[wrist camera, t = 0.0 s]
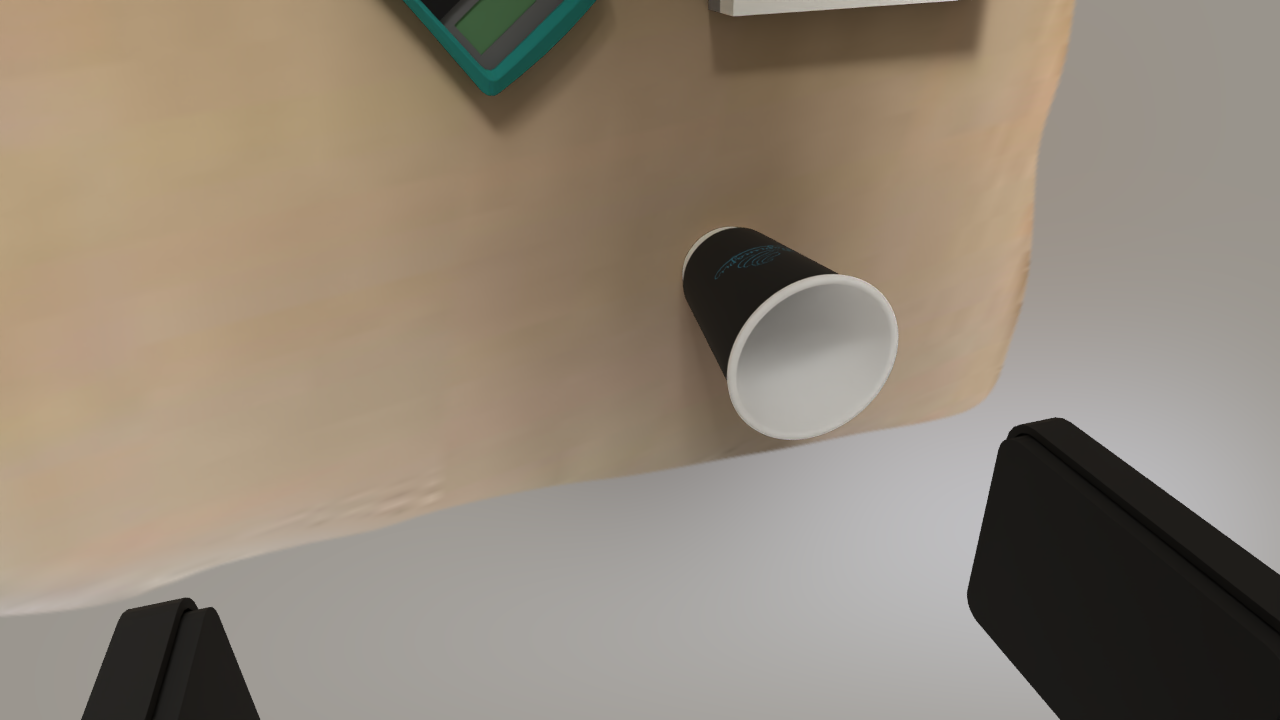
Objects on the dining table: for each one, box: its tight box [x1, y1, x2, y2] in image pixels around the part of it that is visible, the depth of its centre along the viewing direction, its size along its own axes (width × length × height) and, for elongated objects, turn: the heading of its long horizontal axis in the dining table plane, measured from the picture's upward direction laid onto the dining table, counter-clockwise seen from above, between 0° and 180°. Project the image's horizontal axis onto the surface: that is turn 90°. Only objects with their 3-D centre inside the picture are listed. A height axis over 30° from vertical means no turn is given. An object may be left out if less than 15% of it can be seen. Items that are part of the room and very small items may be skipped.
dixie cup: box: [682, 227, 898, 440], centre depth 39 cm, size 8×8×11 cm
